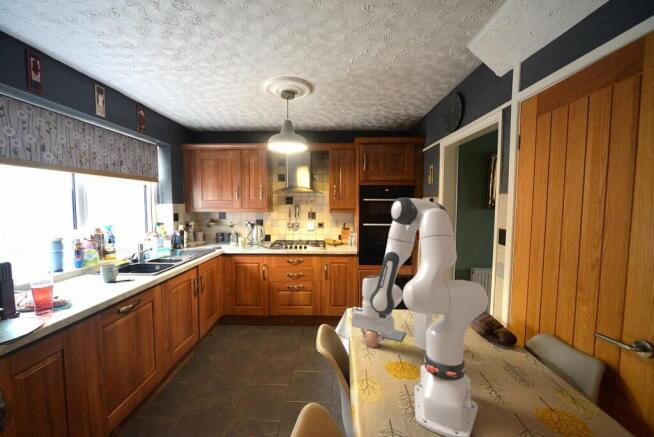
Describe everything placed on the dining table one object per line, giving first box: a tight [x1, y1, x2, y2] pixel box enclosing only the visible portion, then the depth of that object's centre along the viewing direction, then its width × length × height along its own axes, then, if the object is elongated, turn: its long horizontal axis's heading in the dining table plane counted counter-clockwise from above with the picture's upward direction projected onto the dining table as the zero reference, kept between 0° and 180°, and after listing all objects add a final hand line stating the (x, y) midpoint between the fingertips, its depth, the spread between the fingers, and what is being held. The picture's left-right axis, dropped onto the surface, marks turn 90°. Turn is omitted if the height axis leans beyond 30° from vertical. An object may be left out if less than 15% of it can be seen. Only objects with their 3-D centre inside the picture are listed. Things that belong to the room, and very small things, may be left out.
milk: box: [413, 312, 433, 351], centre depth 116 cm, size 6×6×22 cm
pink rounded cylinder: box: [365, 330, 380, 349], centre depth 117 cm, size 6×6×7 cm
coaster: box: [382, 329, 406, 343], centre depth 127 cm, size 10×10×1 cm
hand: (372, 339), depth 118 cm, fingers closed on pink rounded cylinder, 6 cm apart
